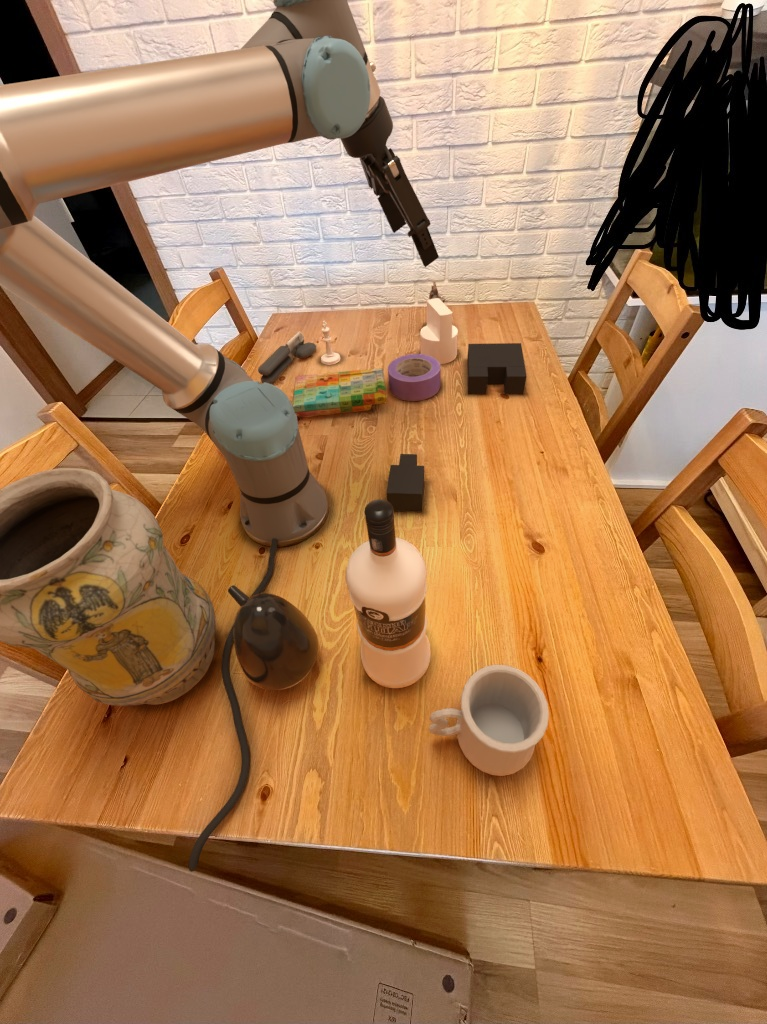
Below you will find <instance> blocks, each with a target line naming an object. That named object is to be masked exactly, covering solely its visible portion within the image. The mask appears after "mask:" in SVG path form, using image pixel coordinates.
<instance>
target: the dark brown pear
mask: <svg viewBox="0 0 767 1024" xmlns="http://www.w3.org/2000/svg"><path fill="white" fill-rule="evenodd" d="M227 593H228V594H229V595H230V596H231V597H232V599H233V600H234V601H235V602H236V603H237V604H238V606H240V607H239V609H238V610H237V612H236V614H235V617H234V622H233V624H234V640H233V644H234V651H235V655H236V659H237V662H238V665H239V667H240V669H241V672H242V673H243V675H244V676H245V678H246V680H248V682H250V683H251V684H252V685H254V686H255V687H257V688H260V689H263V690H268V691H281V690H286V689H290V688H292V687H294V686H296V685H298V684H299V683H301V682H302V681H303V680H304V679H305V678H306V677H307V676H308V675H309V674H310V672H311V671H312V669H313V667H314V665H315V663H316V661H317V658H318V655H319V647H320V644H319V643H320V642H319V638H318V635H317V632H316V629H315V627H314V626H313V625H312V623H311V622H310V620H309V619H308V617H306V615H305V614H304V613H303V612H302V611H301V610H300V609H298V607H296V606H295V605H294V604H293V603H291V602H290V601H289V600H287V599H285V598H284V597H282V596H279V595H277V594H273V593H269V592H266V593H265V592H262V593H261V594H257V595H254V596H252V597H250V596H248V595H247V594H246V593H245V592H244V591H242V590H241V589H240V588H239V587H237V586H236V585H231V586H229V587H228V589H227Z"/></svg>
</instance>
